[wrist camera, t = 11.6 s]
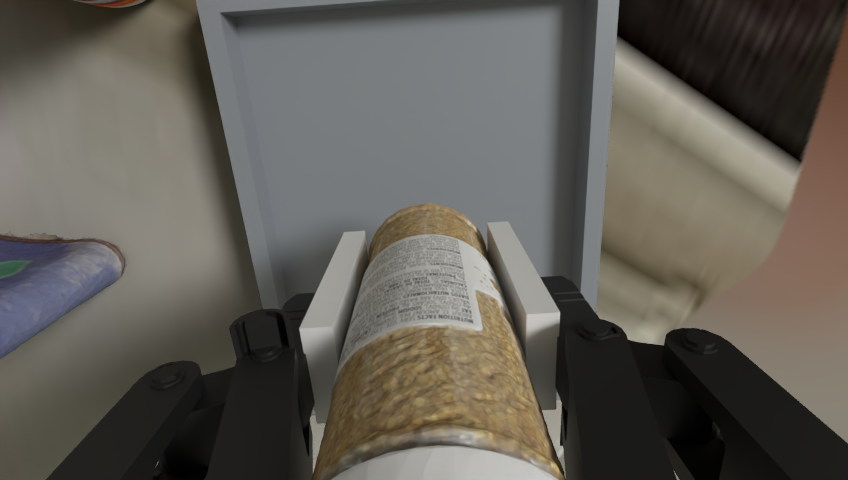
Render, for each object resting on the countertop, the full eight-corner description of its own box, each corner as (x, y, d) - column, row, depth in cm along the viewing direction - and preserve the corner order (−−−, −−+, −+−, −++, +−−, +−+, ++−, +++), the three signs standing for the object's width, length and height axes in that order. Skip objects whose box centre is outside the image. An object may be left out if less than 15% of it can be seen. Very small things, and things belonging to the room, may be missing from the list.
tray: (297, 386, 26) (286, 416, 24) (220, 0, 19) (193, -10, 17) (574, 368, 26) (589, 398, 24) (597, -28, 19) (622, -42, 17)
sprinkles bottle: (489, 303, 18) (652, 839, 6) (375, 314, 18) (280, 863, 6) (482, 192, 16) (692, 588, 4) (358, 204, 17) (170, 629, 4)
